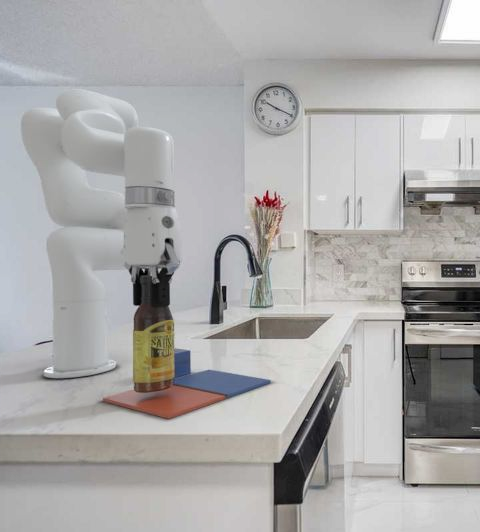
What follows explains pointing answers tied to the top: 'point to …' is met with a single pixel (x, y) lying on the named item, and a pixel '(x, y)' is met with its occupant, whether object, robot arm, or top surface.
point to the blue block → (181, 362)
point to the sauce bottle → (152, 344)
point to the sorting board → (188, 393)
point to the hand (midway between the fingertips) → (151, 304)
